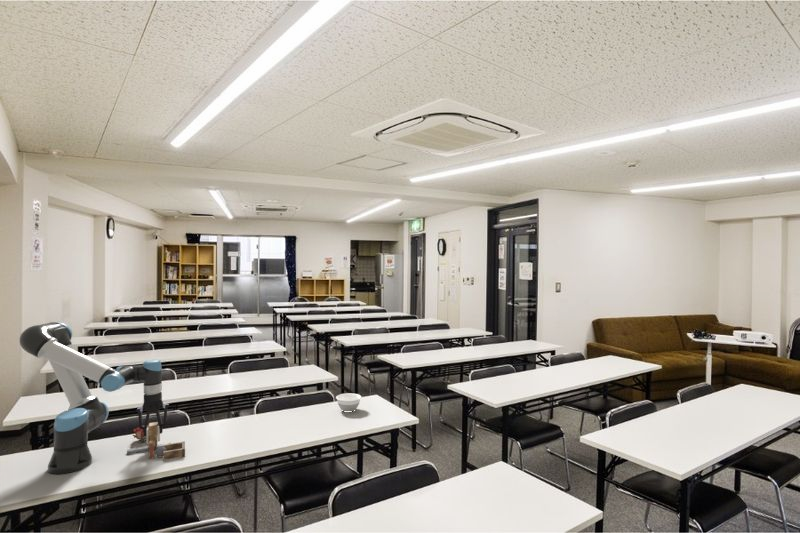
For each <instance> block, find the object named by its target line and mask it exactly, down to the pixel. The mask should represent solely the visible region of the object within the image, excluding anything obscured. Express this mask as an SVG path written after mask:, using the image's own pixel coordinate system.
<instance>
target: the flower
mask: <svg viewBox="0 0 800 533" xmlns="http://www.w3.org/2000/svg"><path fill="white" fill-rule="evenodd" d="M147 428H149V424H148V425H147ZM132 431H133V432H134V434H132V437H133V438H136V439H137V440H139V441H142V443H144V444H145V441H147V436H144V430H143V429H139V426H138V427H136V428H134V429H133V430H132Z"/></svg>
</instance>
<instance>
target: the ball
mask: <svg viewBox="0 0 800 533" xmlns="http://www.w3.org/2000/svg"><path fill="white" fill-rule="evenodd" d="M163 451H166V448H165V447H163V446H161V447H158V448H157V449H156V450H154V455H155V456H156V457H157V458H161V457H162V458H163Z"/></svg>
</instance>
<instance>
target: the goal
mask: <svg viewBox="0 0 800 533" xmlns="http://www.w3.org/2000/svg"><path fill="white" fill-rule="evenodd" d="M185 442H186V440H185V441H178V442H170V443H171V444H165V445H164V447H165V448H166V451H163V456H162V458H163V459H162V461H167V460H172V459H179V458H184V457H186V443H185Z"/></svg>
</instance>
